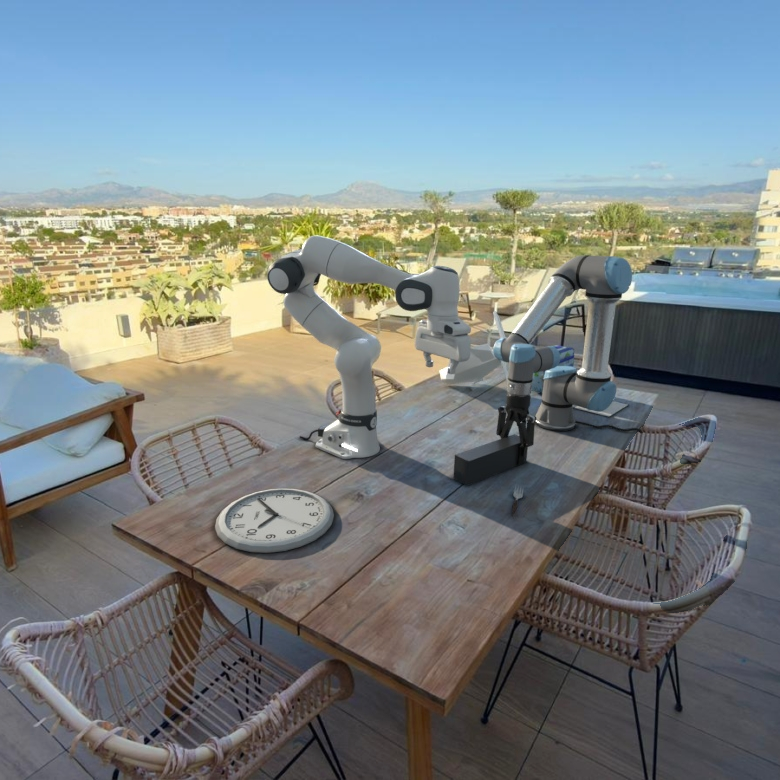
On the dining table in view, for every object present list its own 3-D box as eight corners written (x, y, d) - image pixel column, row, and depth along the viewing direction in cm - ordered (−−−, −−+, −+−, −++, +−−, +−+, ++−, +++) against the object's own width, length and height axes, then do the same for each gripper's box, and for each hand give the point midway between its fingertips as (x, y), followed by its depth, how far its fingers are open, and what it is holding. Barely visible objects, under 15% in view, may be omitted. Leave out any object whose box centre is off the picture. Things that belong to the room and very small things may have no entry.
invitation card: (608, 416, 214) (573, 407, 224) (608, 416, 214) (573, 408, 224) (628, 404, 229) (594, 396, 238) (628, 405, 229) (594, 397, 238)
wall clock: (332, 544, 122) (200, 548, 120) (332, 550, 123) (201, 555, 120) (334, 484, 151) (228, 486, 148) (334, 489, 151) (228, 491, 149)
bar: (512, 456, 176) (514, 434, 173) (526, 462, 171) (528, 439, 169) (453, 478, 159) (454, 454, 157) (467, 485, 155) (468, 461, 153)
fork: (506, 517, 138) (507, 510, 138) (514, 490, 152) (515, 483, 152) (516, 518, 137) (517, 512, 137) (523, 491, 152) (524, 485, 151)
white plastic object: (461, 429, 252) (437, 405, 227) (444, 352, 274) (420, 323, 250) (535, 404, 240) (518, 377, 215) (510, 326, 262) (492, 293, 237)
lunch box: (546, 398, 236) (551, 353, 229) (525, 393, 243) (529, 349, 237) (573, 387, 253) (579, 344, 247) (553, 382, 260) (558, 341, 254)
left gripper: (410, 319, 157) (409, 364, 161) (459, 330, 141) (456, 379, 146) (426, 317, 161) (424, 361, 165) (475, 328, 145) (472, 376, 149)
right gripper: (488, 388, 169) (483, 453, 176) (536, 403, 155) (528, 474, 162) (503, 384, 174) (497, 448, 181) (551, 398, 160) (543, 467, 167)
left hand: (440, 370), depth 155 cm, fingers open, 8 cm apart
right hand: (512, 460), depth 171 cm, fingers closed on bar, 6 cm apart
